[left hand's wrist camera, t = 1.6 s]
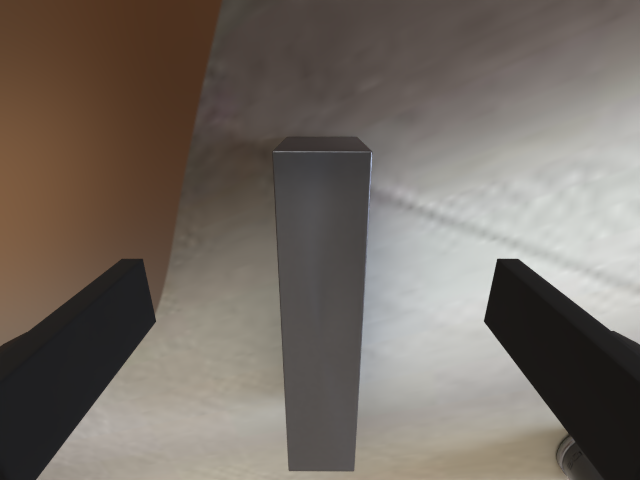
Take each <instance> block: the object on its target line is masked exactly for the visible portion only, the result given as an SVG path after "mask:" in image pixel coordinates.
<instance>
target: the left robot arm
mask: <svg viewBox="0 0 640 480" xmlns="http://www.w3.org/2000/svg"><path fill="white" fill-rule="evenodd" d="M155 322H156V319H155V314H154V309H153V305H152V300H151V295H150V291H149V286H148V281H147V277H146V272H145V267H144V263H143V259H121V260H120V261H119V262H117V263H116V264H115V265H114V266H112V267H111V268H110V269H108V270H107V271H106V272H104V273H103V274H102V275H101V276H99V277H98V278H97V279H95V280H94V281H93V282H92V283H90V284H89V285H88V286H86V287H85V288H84V289H83V290H81V291H80V292H79V293H77V294H76V295H75V296H74V297H72V298H71V299H70V300H68V301H67V302H66V303H65V304H63V305H62V306H61V307H59V308H58V309H57V310H55V311H54V312H53V313H52V314H50V315H49V316H48V317H46V318H45V319H44V320H43V321H41V322H40V323H39V324H37V325H36V326H35V327H34V328H32V329H31V330H30V331H28V332H26V333H24V334H22V335H20V336H18V337H16V338H14V339H12V340H10V341H9V342H7V343H5V344H3V345H2V346H0V480H36V479H37V478H38V476H39V475H40V474H41V472H42V471H43V470H44V469H45V467H46V466H47V465H48V463H49V462H50V461H51V459H52V458H53V457H54V455H55V454H56V453H57V451H58V450H59V449H60V447H61V446H62V445H63V443H64V442H65V441H66V440H67V438H68V437H69V436H70V434H71V433H72V432H73V430H74V429H75V428H76V426H77V425H78V424H79V422H80V421H81V420H82V418H83V417H84V416H85V414H86V413H87V412H88V411H89V409H90V408H91V407H92V405H93V404H94V403H95V401H96V400H97V399H98V397H99V396H100V395H101V393H102V392H103V391H104V389H105V388H106V387H107V385H108V384H109V383H110V382H111V380H112V379H113V378H114V376H115V375H116V374H117V372H118V371H119V370H120V368H121V367H122V366H123V364H124V363H125V362H126V360H127V359H128V358H129V356H130V355H131V354H132V353H133V351H134V350H135V349H136V347H137V346H138V345H139V343H140V342H141V341H142V339H143V338H144V337H145V335H146V334H147V333H148V331H149V330H150V329H151V327H152V326H153V325H154V324H155ZM484 322H485V324H486V325H487V326H488V327H489V329H490V330H491V331H492V333H493V334H494V335H495V337H496V338H497V339H498V341H499V342H500V343H501V345H502V346H503V347H504V349H505V350H506V351H507V353H508V354H509V355H510V356H511V358H512V359H513V360H514V362H515V363H516V364H517V366H518V367H519V368H520V370H521V371H522V372H523V374H524V375H525V376H526V378H527V379H528V380H529V382H530V383H531V384H532V385H533V387H534V388H535V389H536V391H537V392H538V393H539V395H540V396H541V397H542V399H543V400H544V401H545V403H546V404H547V405H548V407H549V408H550V409H551V411H552V412H553V413H554V414H555V416H556V417H557V418H558V420H559V421H560V422H561V424H562V425H563V426H564V428H565V429H566V430H567V432H568V433H569V434H570V436H571V437H572V438H573V440H574V441H575V442H576V443H577V445H578V446H579V447H580V449H581V450H582V451H583V453H584V454H585V455H586V457H587V458H588V459H589V461H590V462H591V463H592V465H593V466H594V467H595V469H596V470H597V471H598V472H599V474H600V475H601V476H602V478H603V479H604V480H640V345H639V344H638V343H636V342H634V341H632V340H630V339H629V338H627V337H625V336H623V335H621V334H619V333H617V332H615V331H610V330H609V329H608V328H606V327H605V326H604V325H603V324H601V323H600V322H599V321H597V320H596V319H595V318H594V317H592V316H591V315H590V314H588V313H587V312H586V311H585V310H583V309H582V308H581V307H579V306H578V305H577V304H576V303H574V302H573V301H572V300H570V299H569V298H568V297H567V296H565V295H564V294H563V293H561V292H560V291H559V290H557V289H556V288H555V287H554V286H552V285H551V284H550V283H548V282H547V281H546V280H545V279H543V278H542V277H541V276H539V275H538V274H537V273H536V272H534V271H533V270H532V269H530V268H529V267H528V266H527V265H525V264H524V263H523V262H521V261H520V260H519V259H497V263H496V267H495V272H494V277H493V281H492V286H491V291H490V295H489V300H488V305H487V309H486V314H485V319H484Z"/></svg>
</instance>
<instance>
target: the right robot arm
mask: <svg viewBox="0 0 640 480" xmlns="http://www.w3.org/2000/svg"><path fill="white" fill-rule="evenodd" d="M557 461H558V464H559V466H560V467H561V469H562V470H563V472H564V473H565V474H566V475H567V476H568V478H569V479H570V480H604V479H603V478H602V476H601V475H600V474H599V472H598V471H597V470H596V469H595V467H594V466H593V465H592V463H591V462H590V461H589V459H588V458H587V457H586V455H585V454H584V453H583V451H582V450H581V449H580V447H579V446H578V445H577V443H576V442H575V441H574V440H573V438H572V437H571V436H568V437H567V438H566V439H565V440H564V441H563V442H562V444H561V445H560V447H559V449H558V452H557Z"/></svg>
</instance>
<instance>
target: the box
mask: <svg viewBox="0 0 640 480" xmlns="http://www.w3.org/2000/svg"><path fill="white" fill-rule="evenodd" d="M272 156H273V175H274V194H275V214H276V233H277V253H278V272H279V292H280V311H281V331H282V350H283V369H284V389H285V408H286V428H287V447H288V467H289V471H354V465H355V447H356V430H357V412H358V395H359V377H360V360H361V342H362V325H363V307H364V290H365V272H366V255H367V237H368V220H369V202H370V185H371V167H372V151H371V150H370V149H369V148H368V147H367V146H366V145H365V144H364V143H363V142H362V141H361V140H360V139H359V138H358V137H287V138H286V139H285V140H284V141H283V142H282V143H281V144H280V145H279V146H277V147H276V148H275V149H274V150H273V152H272Z"/></svg>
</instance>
